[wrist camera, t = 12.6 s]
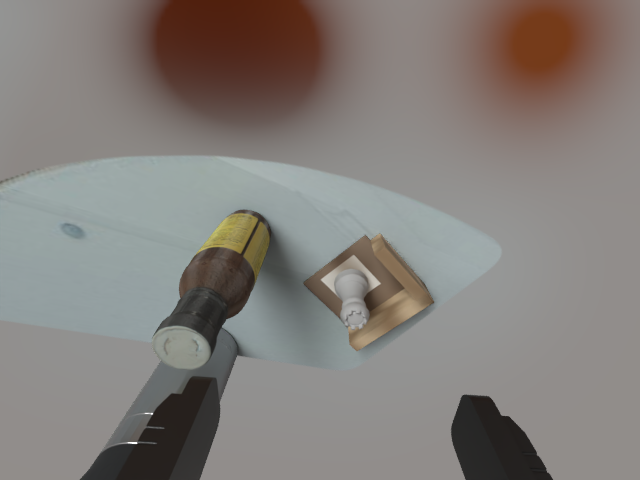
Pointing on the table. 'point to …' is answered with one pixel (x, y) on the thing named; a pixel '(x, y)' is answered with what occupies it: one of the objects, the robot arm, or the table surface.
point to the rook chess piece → (352, 297)
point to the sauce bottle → (213, 290)
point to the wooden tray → (374, 288)
